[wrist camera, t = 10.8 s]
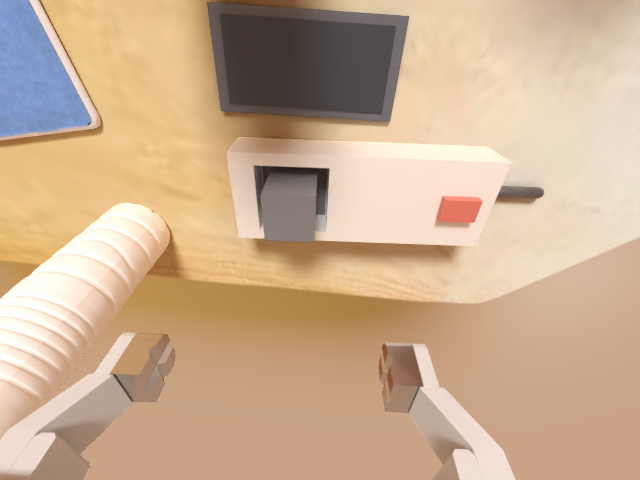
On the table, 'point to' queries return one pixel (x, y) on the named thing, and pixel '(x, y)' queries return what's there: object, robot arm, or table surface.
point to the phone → (306, 61)
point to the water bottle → (71, 305)
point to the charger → (290, 204)
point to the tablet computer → (38, 77)
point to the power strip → (378, 188)
